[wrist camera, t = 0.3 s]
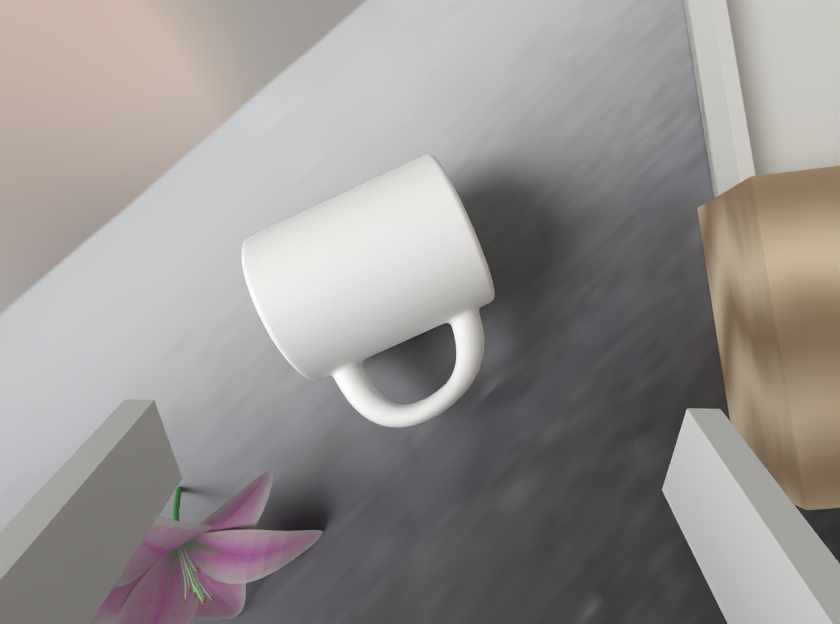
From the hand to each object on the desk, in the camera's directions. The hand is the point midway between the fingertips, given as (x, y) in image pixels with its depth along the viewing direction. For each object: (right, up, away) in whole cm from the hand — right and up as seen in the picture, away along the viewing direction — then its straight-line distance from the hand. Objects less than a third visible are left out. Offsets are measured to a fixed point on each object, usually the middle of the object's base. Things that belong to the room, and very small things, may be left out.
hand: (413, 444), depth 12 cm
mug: (-1, +3, +16) cm, 16 cm away
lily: (-11, -10, +16) cm, 21 cm away
